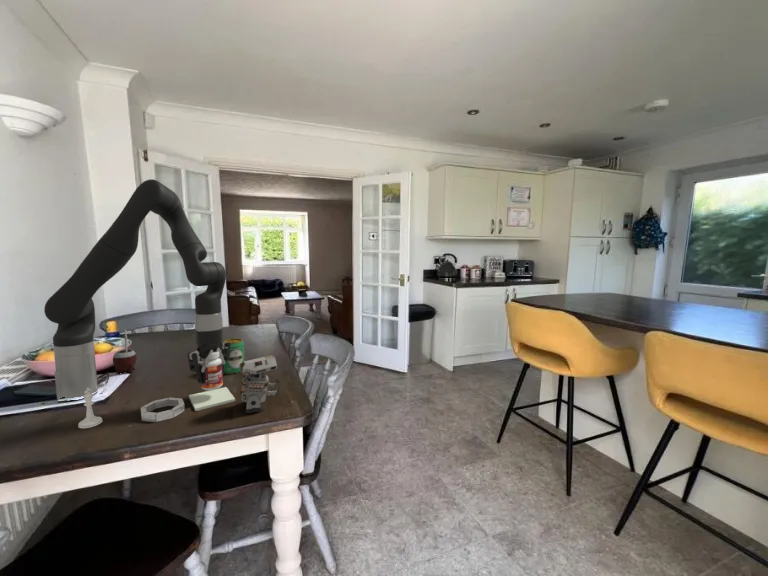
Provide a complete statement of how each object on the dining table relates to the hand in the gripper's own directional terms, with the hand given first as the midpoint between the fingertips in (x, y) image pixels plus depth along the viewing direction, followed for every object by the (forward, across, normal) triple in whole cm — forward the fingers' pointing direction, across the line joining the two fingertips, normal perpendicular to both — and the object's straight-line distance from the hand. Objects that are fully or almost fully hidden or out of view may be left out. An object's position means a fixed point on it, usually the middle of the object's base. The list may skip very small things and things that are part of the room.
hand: (211, 379), depth 105 cm
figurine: (+7, -3, +17) cm, 18 cm away
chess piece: (+7, +24, -17) cm, 30 cm away
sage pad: (+7, 0, 0) cm, 7 cm away
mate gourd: (+7, -4, -48) cm, 49 cm away
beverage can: (+7, -21, -13) cm, 26 cm away
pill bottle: (+3, 0, 0) cm, 3 cm away
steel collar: (+7, +12, -6) cm, 15 cm away
